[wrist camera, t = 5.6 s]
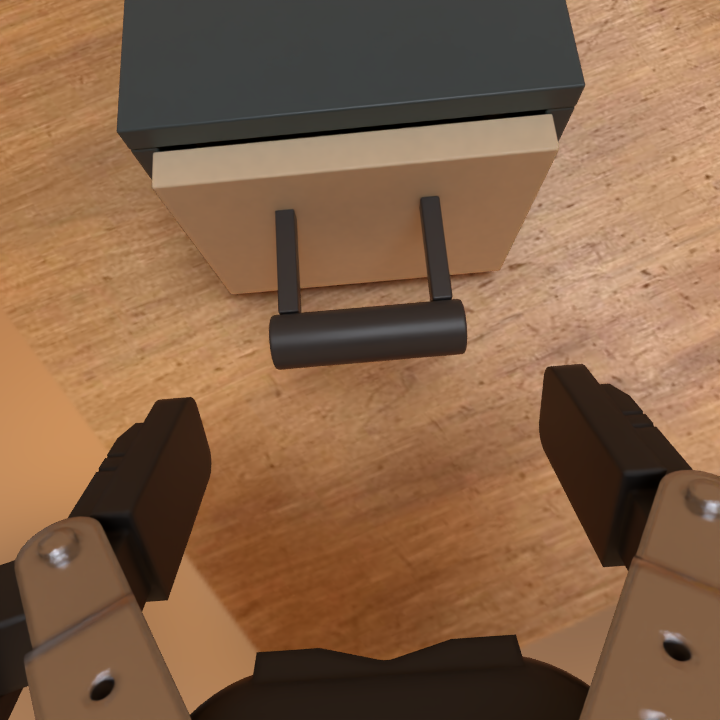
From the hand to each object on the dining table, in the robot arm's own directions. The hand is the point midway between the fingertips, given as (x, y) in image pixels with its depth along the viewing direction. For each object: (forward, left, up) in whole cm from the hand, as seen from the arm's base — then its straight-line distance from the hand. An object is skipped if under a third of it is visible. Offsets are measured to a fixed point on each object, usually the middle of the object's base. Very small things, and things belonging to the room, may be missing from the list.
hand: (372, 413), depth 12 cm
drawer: (0, +11, -8) cm, 14 cm away
